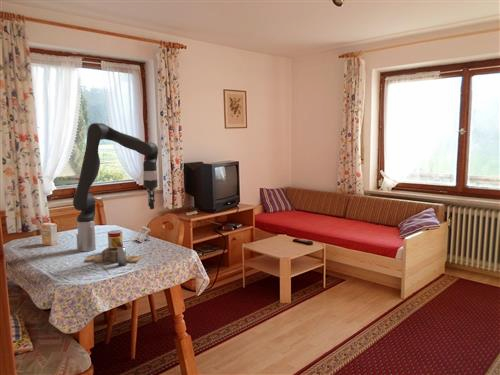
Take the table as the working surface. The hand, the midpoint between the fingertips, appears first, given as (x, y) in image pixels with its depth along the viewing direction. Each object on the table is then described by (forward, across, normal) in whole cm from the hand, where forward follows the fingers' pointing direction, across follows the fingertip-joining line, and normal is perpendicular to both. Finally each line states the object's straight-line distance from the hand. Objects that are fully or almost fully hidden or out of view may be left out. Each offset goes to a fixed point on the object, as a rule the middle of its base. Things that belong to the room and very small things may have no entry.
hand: (151, 207), depth 217 cm
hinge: (+26, +5, -21) cm, 34 cm away
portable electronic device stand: (+27, -31, -3) cm, 41 cm away
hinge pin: (+26, +16, -17) cm, 35 cm away
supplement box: (+27, -43, -58) cm, 77 cm away
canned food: (+27, -11, -20) cm, 35 cm away
